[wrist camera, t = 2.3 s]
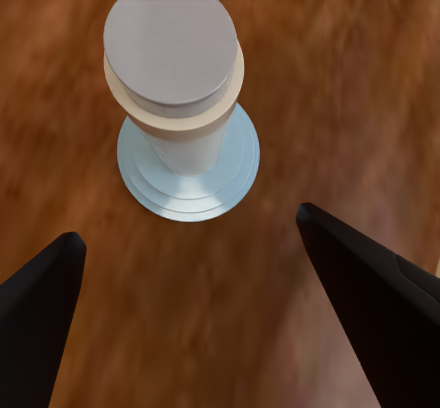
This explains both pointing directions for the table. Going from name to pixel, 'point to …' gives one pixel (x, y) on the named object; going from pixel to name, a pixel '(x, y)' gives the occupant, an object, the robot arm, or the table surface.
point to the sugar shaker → (175, 76)
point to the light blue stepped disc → (190, 186)
